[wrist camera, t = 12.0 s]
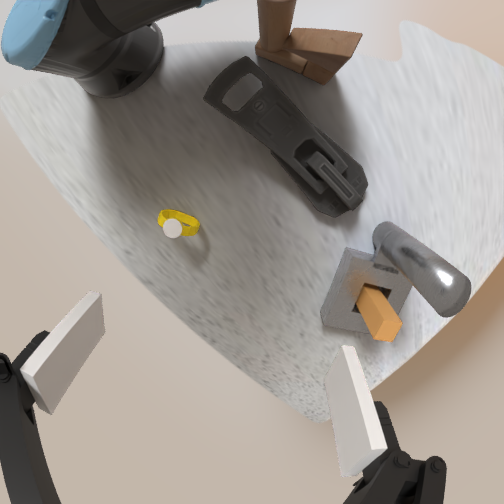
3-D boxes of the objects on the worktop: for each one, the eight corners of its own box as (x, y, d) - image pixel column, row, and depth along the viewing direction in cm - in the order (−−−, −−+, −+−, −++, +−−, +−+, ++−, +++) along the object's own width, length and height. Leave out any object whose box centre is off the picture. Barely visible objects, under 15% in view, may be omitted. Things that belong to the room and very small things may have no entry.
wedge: (359, 279, 44) (384, 319, 33) (375, 283, 44) (402, 323, 33) (352, 296, 45) (373, 339, 34) (368, 299, 46) (392, 342, 34)
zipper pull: (245, 48, 28) (389, 188, 33) (248, 63, 34) (371, 182, 39) (194, 98, 30) (341, 236, 35) (205, 106, 36) (330, 223, 41)
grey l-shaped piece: (358, 211, 40) (422, 261, 22) (419, 232, 41) (494, 286, 22) (320, 311, 47) (344, 401, 28) (379, 323, 47) (420, 404, 28)
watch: (204, 215, 42) (197, 227, 37) (198, 232, 43) (191, 245, 38) (167, 202, 41) (155, 211, 36) (162, 218, 42) (150, 230, 37)
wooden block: (323, 86, 34) (363, 46, 18) (255, 55, 33) (246, -4, 16) (333, 67, 33) (376, 19, 16) (265, 36, 32) (264, -29, 15)
